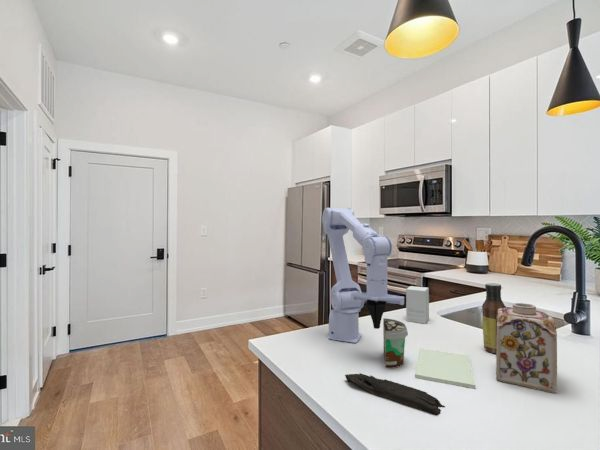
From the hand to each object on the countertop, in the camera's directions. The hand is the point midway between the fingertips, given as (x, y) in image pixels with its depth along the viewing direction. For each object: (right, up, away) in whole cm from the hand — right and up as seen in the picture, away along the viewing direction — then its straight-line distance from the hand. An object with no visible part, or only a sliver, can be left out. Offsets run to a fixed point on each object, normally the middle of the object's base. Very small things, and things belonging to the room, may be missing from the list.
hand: (376, 327), depth 90 cm
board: (+16, -8, -6) cm, 19 cm away
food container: (+5, -9, -2) cm, 10 cm away
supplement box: (+24, -9, +35) cm, 44 cm away
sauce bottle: (+36, -9, +5) cm, 38 cm away
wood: (-1, -9, -18) cm, 21 cm away
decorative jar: (+33, -9, -11) cm, 36 cm away
